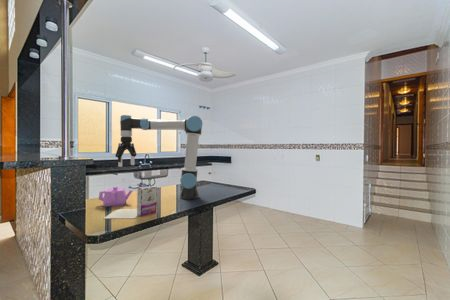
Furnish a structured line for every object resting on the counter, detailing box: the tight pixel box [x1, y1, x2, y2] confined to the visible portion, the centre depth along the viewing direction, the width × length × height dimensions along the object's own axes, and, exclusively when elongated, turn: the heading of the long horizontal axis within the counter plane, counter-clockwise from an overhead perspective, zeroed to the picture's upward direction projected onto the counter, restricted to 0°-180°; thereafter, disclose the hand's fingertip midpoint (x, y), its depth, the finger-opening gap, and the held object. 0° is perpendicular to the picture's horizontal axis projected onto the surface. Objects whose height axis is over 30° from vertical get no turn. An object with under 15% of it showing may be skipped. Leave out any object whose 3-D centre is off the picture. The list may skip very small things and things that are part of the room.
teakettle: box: [98, 186, 133, 207], centre depth 161 cm, size 17×17×12 cm
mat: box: [103, 208, 139, 220], centre depth 138 cm, size 18×18×1 cm
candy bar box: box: [136, 185, 158, 217], centre depth 138 cm, size 11×5×16 cm, turn 143°
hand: (126, 165), depth 164 cm, fingers open, 13 cm apart
